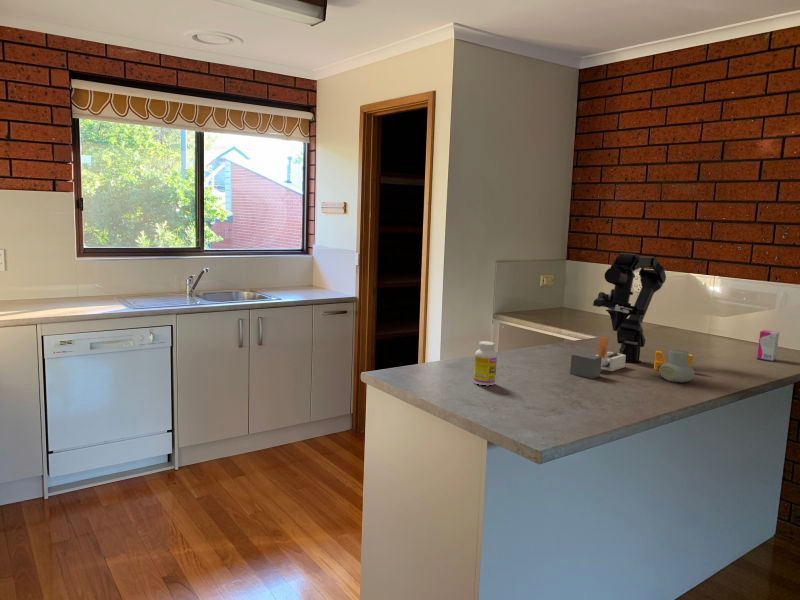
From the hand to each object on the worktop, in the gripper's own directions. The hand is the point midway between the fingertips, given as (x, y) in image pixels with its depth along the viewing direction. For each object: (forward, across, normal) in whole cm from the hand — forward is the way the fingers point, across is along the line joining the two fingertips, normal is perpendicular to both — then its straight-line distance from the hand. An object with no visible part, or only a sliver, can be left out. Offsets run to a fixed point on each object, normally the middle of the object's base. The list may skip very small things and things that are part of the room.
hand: (614, 330), depth 224 cm
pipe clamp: (+10, -21, +8) cm, 25 cm away
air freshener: (+13, -12, +20) cm, 27 cm away
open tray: (+13, -1, 0) cm, 13 cm away
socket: (+17, +15, +8) cm, 24 cm away
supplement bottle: (+25, +54, +12) cm, 61 cm away
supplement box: (-1, -76, -1) cm, 76 cm away
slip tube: (+13, +3, +2) cm, 13 cm away
